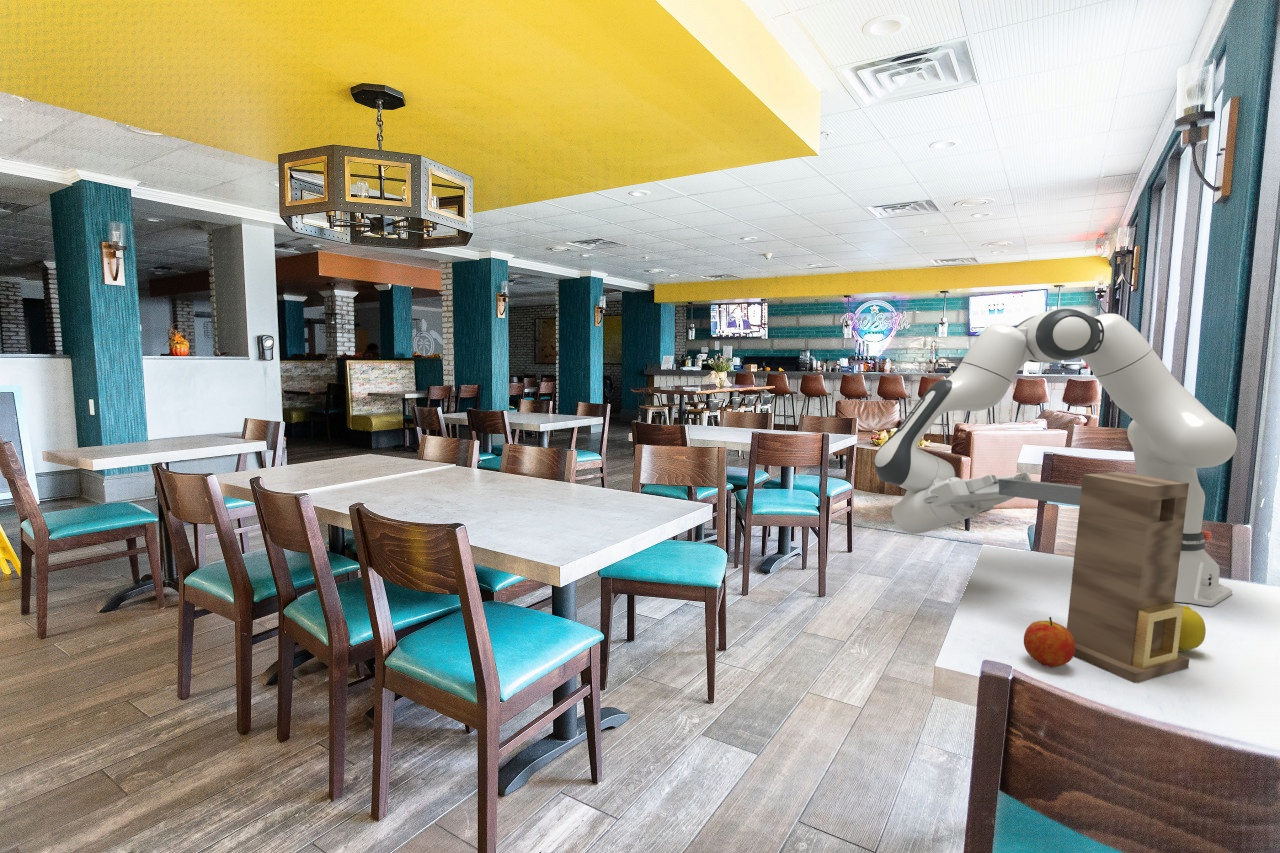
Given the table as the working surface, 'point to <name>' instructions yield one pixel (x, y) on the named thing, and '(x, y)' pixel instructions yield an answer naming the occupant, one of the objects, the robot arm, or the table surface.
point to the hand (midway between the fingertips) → (1011, 477)
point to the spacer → (1145, 631)
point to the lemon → (1191, 630)
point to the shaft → (1040, 491)
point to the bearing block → (1124, 567)
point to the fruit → (1049, 643)
